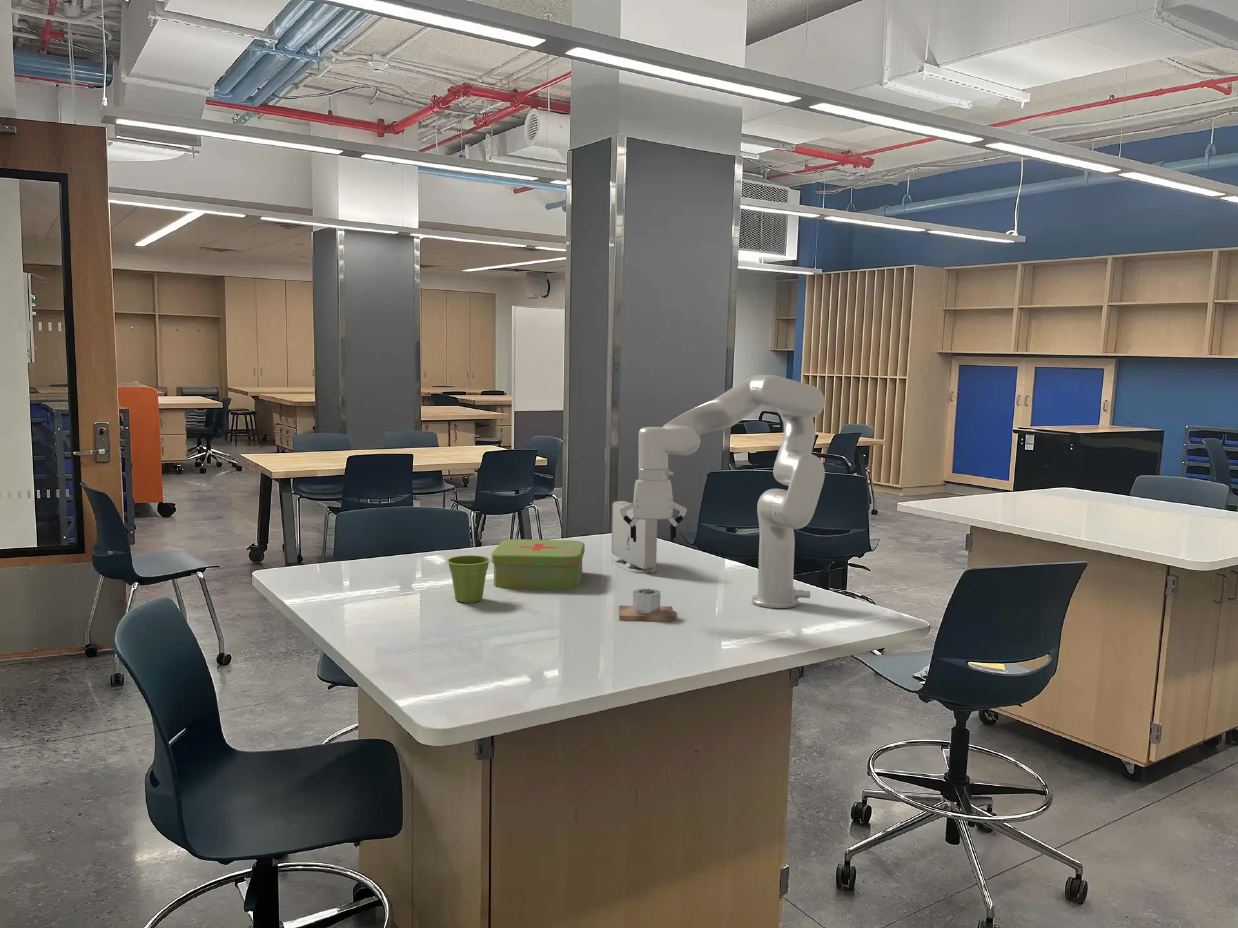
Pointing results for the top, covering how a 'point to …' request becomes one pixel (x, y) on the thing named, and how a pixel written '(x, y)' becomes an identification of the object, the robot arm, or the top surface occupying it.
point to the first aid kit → (538, 564)
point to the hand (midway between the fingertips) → (653, 541)
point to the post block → (663, 615)
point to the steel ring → (646, 601)
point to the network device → (630, 551)
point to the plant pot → (468, 576)
